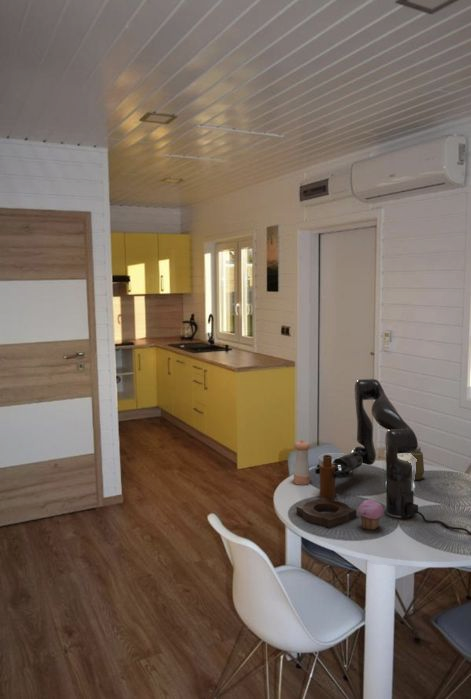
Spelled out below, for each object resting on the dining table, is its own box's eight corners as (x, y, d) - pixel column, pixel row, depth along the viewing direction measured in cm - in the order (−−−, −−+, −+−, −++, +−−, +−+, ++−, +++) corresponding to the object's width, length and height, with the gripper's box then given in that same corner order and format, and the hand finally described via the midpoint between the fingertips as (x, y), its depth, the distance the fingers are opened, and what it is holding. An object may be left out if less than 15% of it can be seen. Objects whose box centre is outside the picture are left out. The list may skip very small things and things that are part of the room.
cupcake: (364, 520, 214) (364, 495, 213) (386, 526, 210) (386, 499, 208) (354, 529, 207) (354, 502, 206) (377, 534, 202) (378, 507, 201)
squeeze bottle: (402, 476, 263) (402, 437, 261) (417, 474, 266) (417, 436, 264) (412, 481, 256) (413, 442, 254) (428, 479, 258) (428, 440, 256)
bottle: (338, 495, 240) (338, 456, 238) (327, 499, 236) (327, 459, 234) (326, 491, 245) (326, 453, 243) (316, 495, 241) (316, 456, 239)
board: (360, 516, 218) (360, 509, 218) (327, 529, 207) (327, 521, 207) (324, 503, 233) (324, 496, 232) (292, 514, 221) (292, 507, 221)
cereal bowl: (347, 480, 259) (347, 464, 259) (313, 474, 268) (312, 459, 267) (359, 469, 274) (359, 455, 273) (327, 464, 282) (327, 450, 282)
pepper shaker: (305, 478, 263) (305, 437, 261) (313, 483, 256) (312, 441, 254) (291, 480, 260) (290, 439, 258) (298, 485, 253) (298, 443, 251)
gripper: (331, 452, 255) (310, 461, 243) (359, 458, 245) (339, 468, 233) (331, 469, 255) (310, 478, 243) (359, 475, 246) (339, 486, 234)
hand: (324, 473), depth 238 cm, fingers open, 8 cm apart
